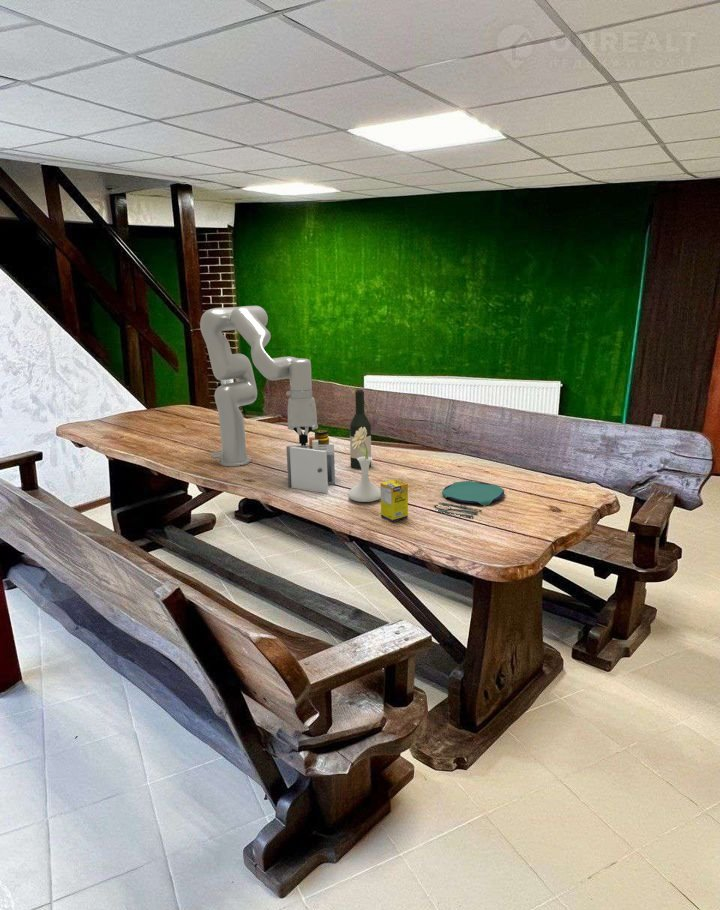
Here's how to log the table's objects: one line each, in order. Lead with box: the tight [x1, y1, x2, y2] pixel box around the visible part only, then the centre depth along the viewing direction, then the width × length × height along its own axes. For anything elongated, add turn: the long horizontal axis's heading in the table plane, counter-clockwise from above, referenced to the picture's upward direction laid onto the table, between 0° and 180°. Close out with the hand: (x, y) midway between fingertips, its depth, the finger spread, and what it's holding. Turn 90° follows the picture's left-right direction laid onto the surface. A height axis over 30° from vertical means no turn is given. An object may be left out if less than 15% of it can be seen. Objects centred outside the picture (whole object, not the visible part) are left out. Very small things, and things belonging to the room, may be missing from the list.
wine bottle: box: [349, 388, 372, 470], centre depth 230 cm, size 8×8×30 cm
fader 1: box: [308, 436, 315, 447], centre depth 217 cm, size 2×2×3 cm
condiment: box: [314, 429, 330, 445], centre depth 242 cm, size 7×8×12 cm
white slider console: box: [289, 444, 336, 486], centre depth 216 cm, size 16×10×12 cm, turn 92°
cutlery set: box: [433, 480, 505, 519], centre depth 196 cm, size 20×30×2 cm, turn 147°
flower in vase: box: [347, 427, 381, 503], centre depth 194 cm, size 13×11×25 cm
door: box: [286, 445, 329, 494], centre depth 206 cm, size 16×2×14 cm, turn 62°
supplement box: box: [380, 478, 409, 522], centre depth 181 cm, size 6×6×11 cm
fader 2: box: [312, 440, 318, 449], centre depth 213 cm, size 2×2×3 cm
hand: (303, 444), depth 217 cm, fingers closed
